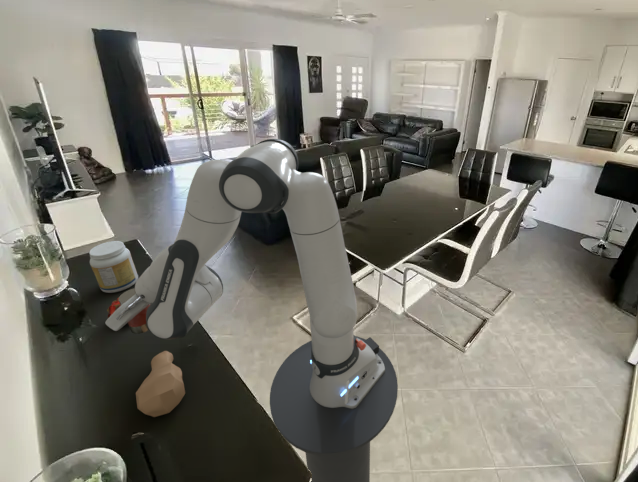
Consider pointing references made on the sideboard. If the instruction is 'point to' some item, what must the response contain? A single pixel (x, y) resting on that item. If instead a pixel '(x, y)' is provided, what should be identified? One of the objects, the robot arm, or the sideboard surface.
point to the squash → (161, 387)
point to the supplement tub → (113, 266)
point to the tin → (139, 320)
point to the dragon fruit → (113, 307)
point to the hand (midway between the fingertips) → (135, 309)
